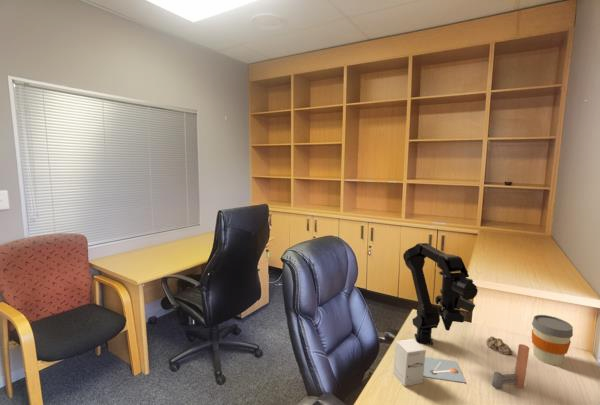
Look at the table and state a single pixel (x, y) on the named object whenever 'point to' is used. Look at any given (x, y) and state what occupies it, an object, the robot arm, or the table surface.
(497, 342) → the mineral rock
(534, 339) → the reusable coffee cup
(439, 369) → the card
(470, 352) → the table surface
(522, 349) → the orange grey t-shaped piece
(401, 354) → the supplement box
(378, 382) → the table surface
